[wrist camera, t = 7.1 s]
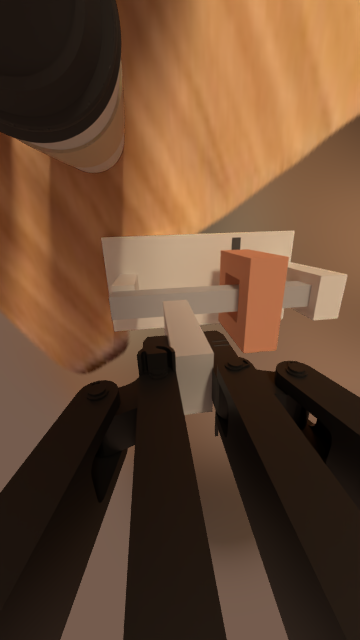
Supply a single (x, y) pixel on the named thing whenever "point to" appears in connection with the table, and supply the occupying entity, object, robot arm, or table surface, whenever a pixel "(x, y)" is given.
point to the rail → (204, 277)
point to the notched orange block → (254, 297)
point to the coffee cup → (63, 79)
